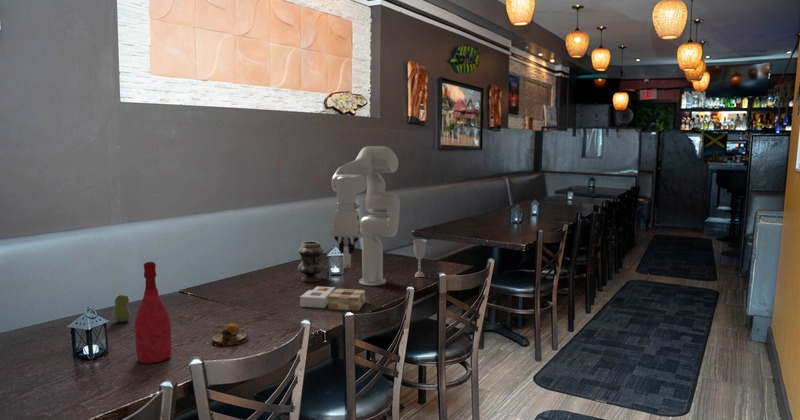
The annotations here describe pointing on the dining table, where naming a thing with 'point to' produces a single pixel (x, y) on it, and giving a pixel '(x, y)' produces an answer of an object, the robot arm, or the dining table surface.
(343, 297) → the block
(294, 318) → the dining table surface
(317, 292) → the socket block
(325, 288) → the release plunger
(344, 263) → the drill bit
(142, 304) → the wine bottle
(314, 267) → the apothecary jar
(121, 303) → the pear
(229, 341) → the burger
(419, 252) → the chalice
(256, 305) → the dining table surface
